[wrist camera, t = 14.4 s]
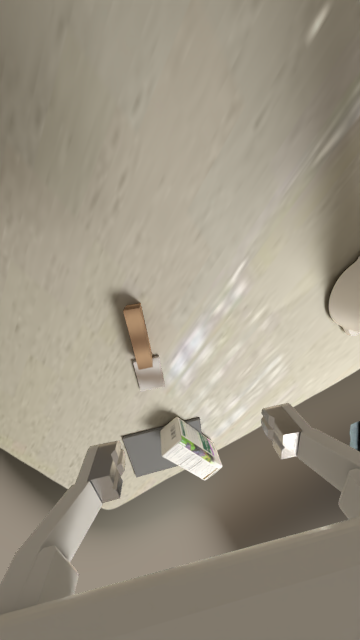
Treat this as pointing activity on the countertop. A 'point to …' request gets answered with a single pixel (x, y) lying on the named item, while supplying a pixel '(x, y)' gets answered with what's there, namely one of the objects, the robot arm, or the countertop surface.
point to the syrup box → (189, 449)
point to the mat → (150, 449)
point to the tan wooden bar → (143, 350)
